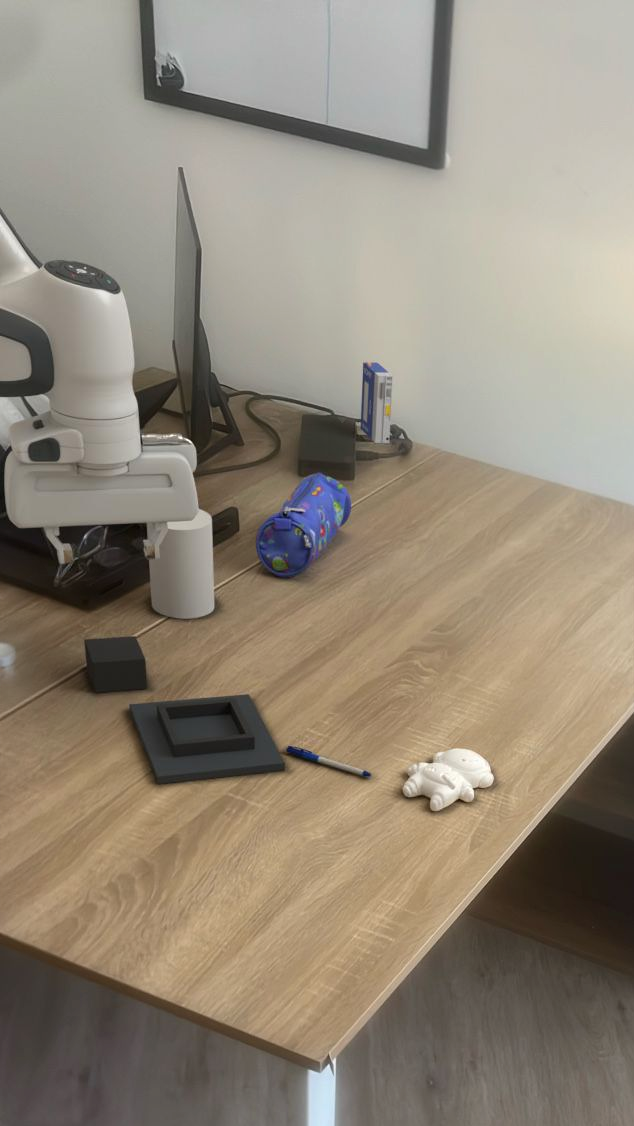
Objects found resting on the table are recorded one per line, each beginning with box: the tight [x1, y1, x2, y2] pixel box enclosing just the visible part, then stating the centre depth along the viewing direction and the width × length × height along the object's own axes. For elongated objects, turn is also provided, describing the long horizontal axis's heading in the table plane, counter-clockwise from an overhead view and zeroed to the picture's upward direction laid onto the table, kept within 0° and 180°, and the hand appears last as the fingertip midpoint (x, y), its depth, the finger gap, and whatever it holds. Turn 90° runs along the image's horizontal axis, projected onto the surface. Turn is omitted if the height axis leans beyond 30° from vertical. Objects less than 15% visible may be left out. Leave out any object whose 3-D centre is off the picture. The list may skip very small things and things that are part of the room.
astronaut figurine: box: [402, 748, 495, 812], centre depth 144 cm, size 9×12×3 cm
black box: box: [83, 635, 148, 694], centre depth 152 cm, size 6×6×4 cm
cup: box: [146, 508, 215, 620], centre depth 167 cm, size 8×8×12 cm
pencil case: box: [255, 472, 352, 579], centre depth 186 cm, size 22×9×10 cm, turn 171°
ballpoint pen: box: [285, 745, 372, 778], centre depth 145 cm, size 10×1×1 cm, turn 72°
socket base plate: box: [128, 693, 286, 785], centre depth 145 cm, size 14×16×3 cm
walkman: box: [360, 361, 394, 444], centre depth 230 cm, size 8×3×12 cm, turn 27°
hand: (109, 559), depth 144 cm, fingers open, 8 cm apart
